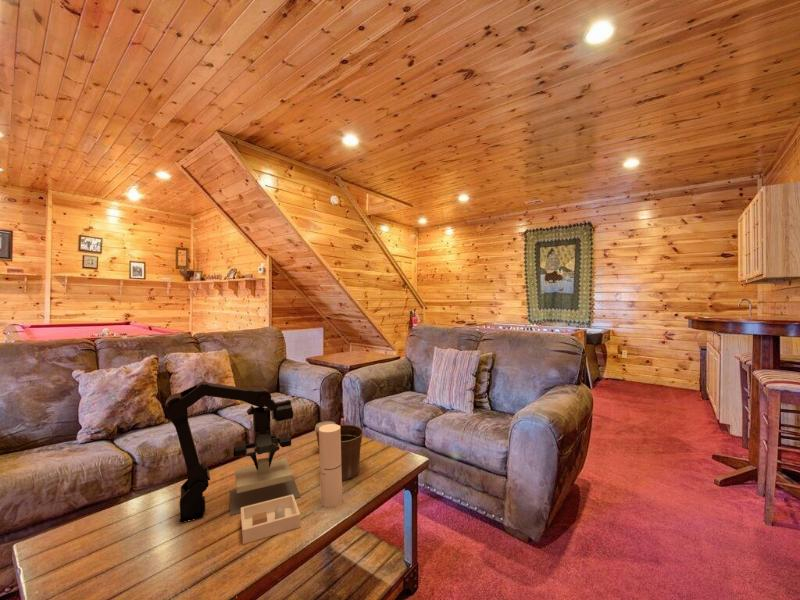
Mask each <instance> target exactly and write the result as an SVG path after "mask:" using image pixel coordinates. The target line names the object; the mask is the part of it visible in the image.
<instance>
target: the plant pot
mask: <svg viewBox="0 0 800 600" xmlns="http://www.w3.org/2000/svg"><path fill="white" fill-rule="evenodd" d="M338 425H339V426H340V429H341V469H342V482H343V481H344V482H345V481H349V479H353V478H355V477H357V476H358V475H359V472H360V460H361V459H360V457H361V445H362V442H363V435H364V430H363V428H362V427H360V426H358V425H354V424H338Z"/></svg>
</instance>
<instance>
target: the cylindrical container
mask: <svg viewBox="0 0 800 600" xmlns="http://www.w3.org/2000/svg"><path fill="white" fill-rule="evenodd" d="M339 425H340V424H327V425H323V426H321V427H320V428H319V447H318V453H319V478H320V479H319V480H320V481H319V485H320V490H319V491H320V505H321V506H322V507H326V508H335V507H338V506H339V505H340V504H341V503H342V502H343V481H342V469H341V429H340V426H339Z"/></svg>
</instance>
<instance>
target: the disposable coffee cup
mask: <svg viewBox="0 0 800 600" xmlns="http://www.w3.org/2000/svg"><path fill="white" fill-rule="evenodd" d="M327 424H336V422H335V421H332V420H328V421H327V420H326V421H325V420H324V421H321V422H318V423H316V425H315V427H314V431H315V432H316V433H315V434H316V442H317V446H318V448H319V428H320V427H321V426H323V425H327Z"/></svg>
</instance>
